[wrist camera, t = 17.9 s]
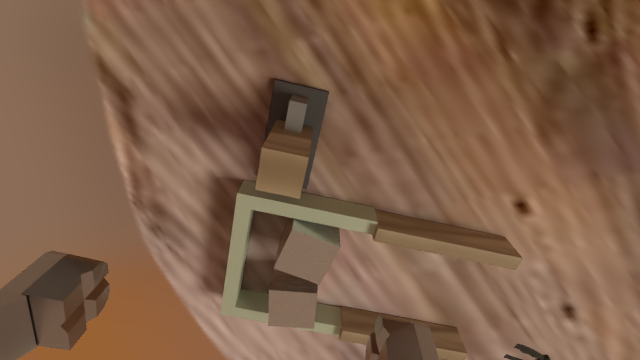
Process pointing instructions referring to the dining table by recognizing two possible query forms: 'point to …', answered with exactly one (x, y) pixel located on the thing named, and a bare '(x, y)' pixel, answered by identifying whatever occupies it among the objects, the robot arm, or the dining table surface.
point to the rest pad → (312, 116)
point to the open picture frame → (303, 209)
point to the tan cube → (307, 249)
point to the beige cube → (291, 301)
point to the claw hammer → (529, 351)
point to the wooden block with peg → (286, 153)
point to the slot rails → (439, 242)
